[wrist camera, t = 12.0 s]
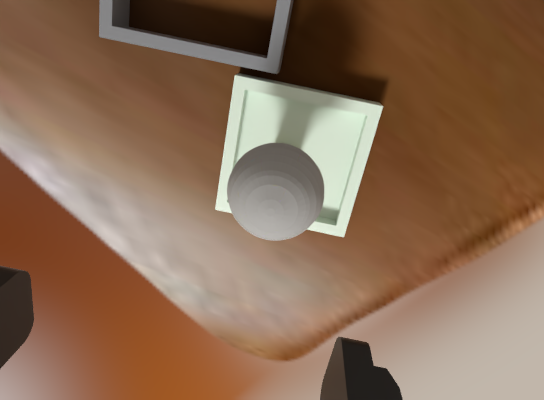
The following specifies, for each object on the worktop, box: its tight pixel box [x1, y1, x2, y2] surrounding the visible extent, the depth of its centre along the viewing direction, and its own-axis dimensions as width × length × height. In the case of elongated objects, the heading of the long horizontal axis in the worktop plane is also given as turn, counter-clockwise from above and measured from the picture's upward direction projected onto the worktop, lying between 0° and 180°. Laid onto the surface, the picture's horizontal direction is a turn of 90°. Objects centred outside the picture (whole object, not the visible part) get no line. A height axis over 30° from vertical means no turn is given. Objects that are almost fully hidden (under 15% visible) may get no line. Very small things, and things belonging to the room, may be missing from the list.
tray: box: [215, 73, 383, 237], centre depth 29 cm, size 10×10×2 cm
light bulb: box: [227, 143, 324, 240], centre depth 24 cm, size 5×6×10 cm
